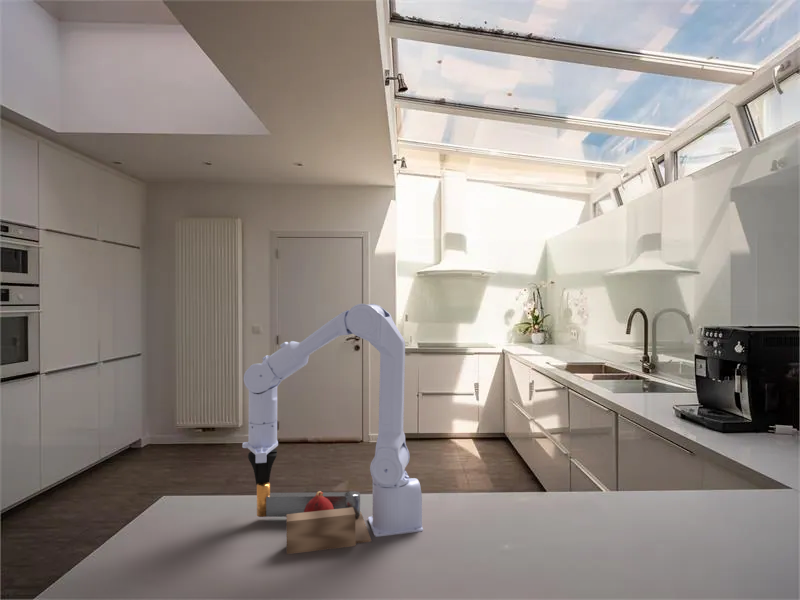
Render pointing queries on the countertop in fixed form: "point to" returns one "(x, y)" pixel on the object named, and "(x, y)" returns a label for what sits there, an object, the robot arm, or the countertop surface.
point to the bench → (325, 530)
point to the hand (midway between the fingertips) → (262, 487)
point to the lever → (299, 501)
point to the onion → (318, 503)
